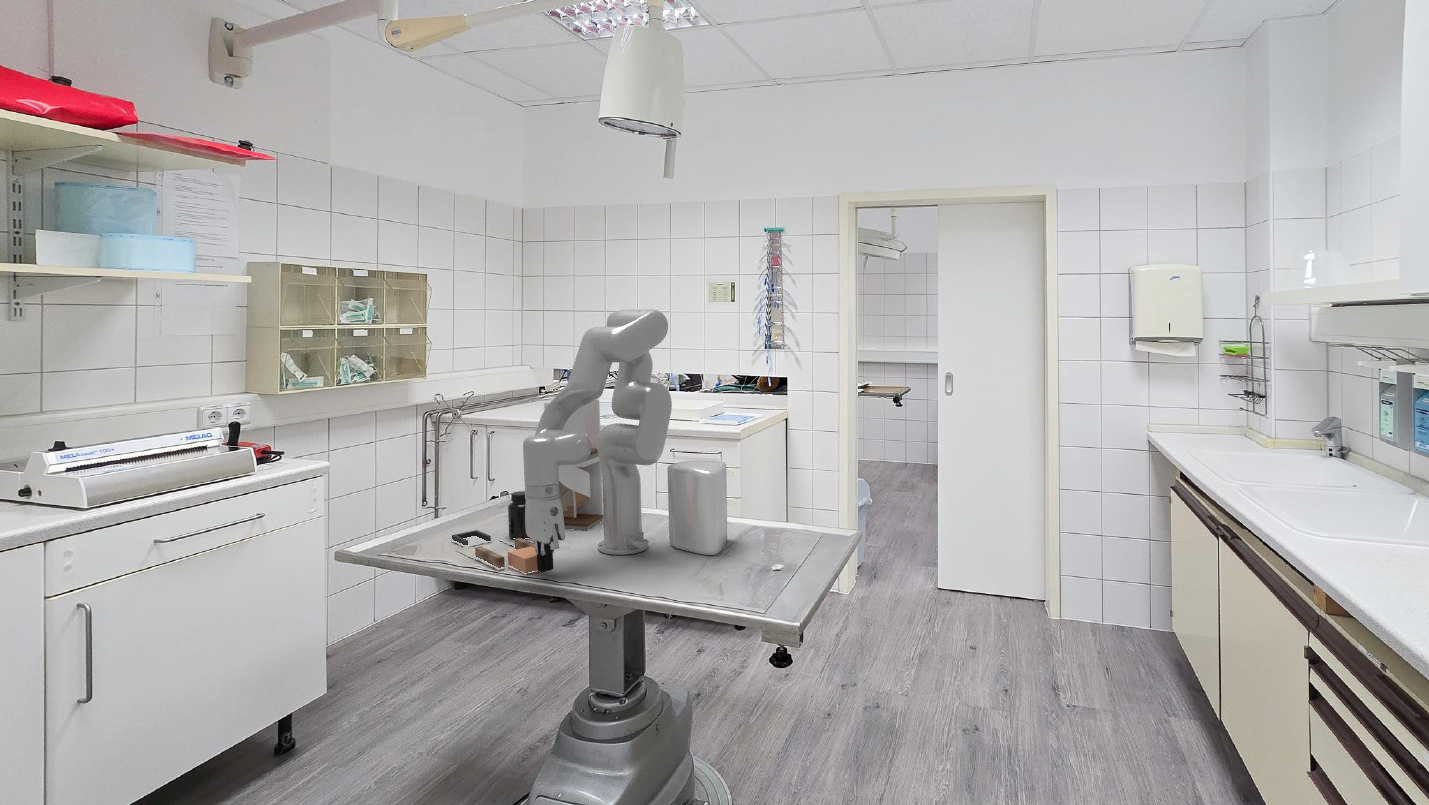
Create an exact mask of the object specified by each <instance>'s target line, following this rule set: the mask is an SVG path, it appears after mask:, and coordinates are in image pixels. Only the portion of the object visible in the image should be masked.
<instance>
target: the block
mask: <svg viewBox="0 0 1429 805" xmlns="http://www.w3.org/2000/svg"><path fill="white" fill-rule="evenodd" d="M537 554H538V553H536V551H535V548H533V547H531V546H530V547H526V548H522V549H517V550H515V549H514V550H510V551H507V563H508V564H507V565H510V566H513V567H514V568H516V569H518V570H519V571H522V572H524V573H528V572H532V571H537Z"/></svg>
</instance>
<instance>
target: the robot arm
mask: <svg viewBox="0 0 1429 805" xmlns="http://www.w3.org/2000/svg"><path fill="white" fill-rule="evenodd" d="M668 331H669V322H668V319H667V317H666V315H665V314H664V313H663V312H661V311H660V310H658V309H651V308H649V309H648V308H646V309H645V308H644V309H620V310H616V311H613V312H611V313H610V314H609V315H608V317H607V319H606V326H595V327H594V326H593V327H592V328H589V329H588V330H586V331H585V332H584V334H583V336H582V338H581V340H580V343H579V346H578V350H577V353H576V356H575V358H574V359H575V360H574V363H573V364H572V365H573V366H572V369H571V371H570V376H569V377H568V381H567V383H566V384H565V386H564V387H563V388H562V389H561V390H560V391H559V392H558V393H557V394H556V395H555V396H554V398H553V399H552V400H551V401H549V402H550V403H549V405H548V406H547V407H546V409H545V410H544V411H543V412H542V414H541V416H540V418H539V421H538V425H537V428H536V431H535V435H532V436H528V437H526V438H524V440H523V442H522V455H523V456H522V458H523V459H522V460H523V476H524V477H523V479H524V491H525V499H526V505H525V527H526V534H527V536H528V537H530V539H529V540H530V542H532V543H534V544H535V551H536V553H538V554H537V570H538V571H540V573H546V572H549V571H553V570H554V553H555V550H557V549H559V548H560V541H564V540H565V537H566V530H565V527H564V516H563V509H562V504H561V500H560V498H559V473H558V466H560V465H576V464H580V463H582V462H584V461H585V460H586V459H587V458H588V457H589V455H590V453H591V449H592V446H591V442H590V440H589V439H588V437H586V436H585V435H584V434H582V433H578V432H572V431H565V430H563V429H564V426H565V424H566V422H567V421H568V419H569V418H570V416H571V415H572V414H573V413H574V412H576V411H577V410H578V409H580V408H581V407H583V406H585V405H587V404H589V403H591V402H593V401H595V400H599V398H601V397H602V396H603V393H604V391H605V387H606V382H607V379H608V377H609V374H610V371H611V367H612V364H613V363H618V369H617V374H616V378H615V384H614V388H613V393H612V399H611V410H612V412H613V414H614V415H615V416H616V417H618V418H621V419H626V420H632V421H633V420H634V421H638V424H637V425H636V424H630V423H621V422H620V423H616V422H615V423H610V424H607V425H606V426H604V427H602V428H601V429H600V433H599V435H598V438H597V450H598V455H599V459H600V463H601V470H602V498H603V540H602V541H600V542H598V544H597V549H598V551H599V552H600V553H603V554H606V555H612V556H613V555H614V556H625V555H634V554H638V553H642V552H644V551H645V550H647V549H649V543H650V541H649V540H648V539H646V538H645V536H644V531H643V529H642V528H643V526H642V525H643V524H642V521H643V520H642V519H643V518H642V491H641V490H642V489H641V488H642V486H641V484H642V483H641V476H640V475H641V474H640V472H639V469H638V466H637V465H639V466H652V465H653V464H655V463H657V462H658V461H659V460H660V458H661V456H662V455H663V452H664V448H665V444H666V441H667V440H666V439H667V435H668V434H667V433H668V431H669V430H668V429H669V425H670V420H671V415H672V409H673V408H672V406H673V404H672V396H671V393H670V391H669V389H668V388H667V387H666V386H665V385H663V384H661V383H659V382H651V380H652V374H653V366H654V365H653V358H652V356H651V352H650V350H652V349H654V348H655V347H657V346H658V345H659V344H661V343H662V342H663V341H664V339H665V338H666V336H667V334H668Z"/></svg>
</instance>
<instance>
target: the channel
mask: <svg viewBox="0 0 1429 805" xmlns="http://www.w3.org/2000/svg"><path fill="white" fill-rule="evenodd" d="M513 540H514V541H513V542H514V545H515V548H514V550H515V549H516V550H517V549H522V548H526V547H530V546H531V547H533V548H535V544H534V543H533V542H532V541H529V540H528V539H526V540H524V539H522V538H516V539H513ZM474 551H475V552H474V554H475V555H474V557H475V556H476V557H478V558H480V559H483V560H484V561H487V562H488V563H490V564H492V565H494V566H496V567H498V568H501V567H505V566H506V564H505V556H503V555H501V554H500V553H499V554H498V553H497V552H495V551H492V550H490V549H488V548H485V547H483V546H482V545H479V546H477V547H476V546H475V547H474ZM505 568H506V567H505Z"/></svg>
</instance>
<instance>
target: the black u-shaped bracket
mask: <svg viewBox="0 0 1429 805" xmlns="http://www.w3.org/2000/svg"><path fill="white" fill-rule="evenodd" d="M471 536H477V537H479V538H482V539H484V540H486V541H491V542H492V538H491V537H492V536H491V535H489V534H487V533H485V532H483V531H481V530H478V529H475V530H472V531H471V530H470V531H465V532H461V533H456V534H451V540H452V539H453V540H454V541H457V542H459V543H462V544H463V545H468V540H466V539H463V538H467V537H471Z"/></svg>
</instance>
